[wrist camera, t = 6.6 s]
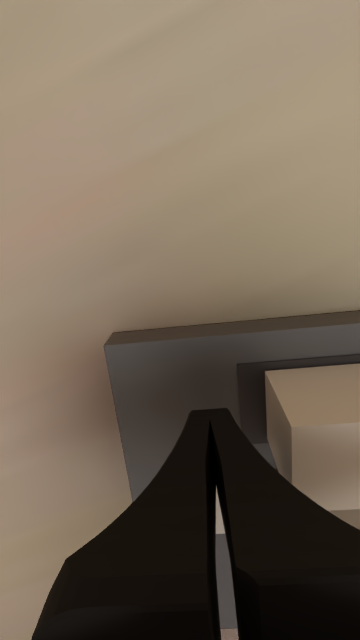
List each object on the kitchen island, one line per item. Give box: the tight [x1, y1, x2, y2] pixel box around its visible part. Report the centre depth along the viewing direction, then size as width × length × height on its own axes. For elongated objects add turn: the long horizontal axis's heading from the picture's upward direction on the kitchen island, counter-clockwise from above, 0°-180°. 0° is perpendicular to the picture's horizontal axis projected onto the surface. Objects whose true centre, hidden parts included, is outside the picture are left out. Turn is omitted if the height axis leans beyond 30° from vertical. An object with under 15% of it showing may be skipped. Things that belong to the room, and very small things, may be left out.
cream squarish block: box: [265, 363, 360, 511], centre depth 11 cm, size 3×4×4 cm
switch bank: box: [104, 311, 360, 629], centre depth 15 cm, size 16×20×2 cm
